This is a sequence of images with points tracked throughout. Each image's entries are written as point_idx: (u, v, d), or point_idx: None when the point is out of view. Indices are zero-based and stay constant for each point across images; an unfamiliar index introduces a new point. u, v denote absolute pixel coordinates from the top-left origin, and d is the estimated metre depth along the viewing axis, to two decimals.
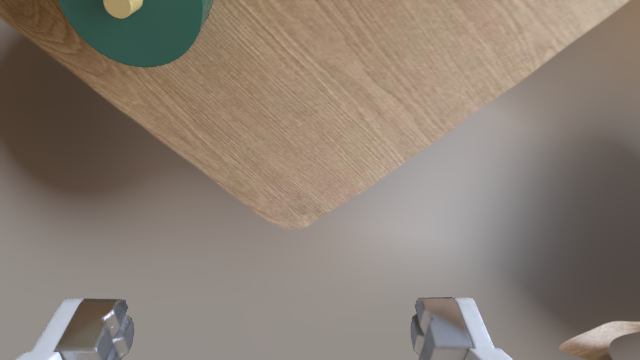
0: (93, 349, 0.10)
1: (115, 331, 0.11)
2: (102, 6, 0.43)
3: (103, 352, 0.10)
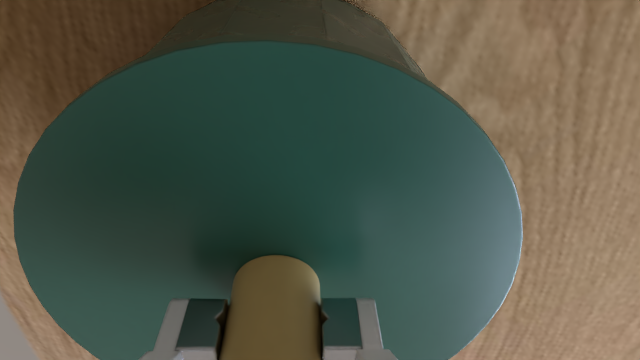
0: (213, 347, 0.10)
1: (222, 330, 0.11)
2: (177, 251, 0.12)
3: (219, 351, 0.10)
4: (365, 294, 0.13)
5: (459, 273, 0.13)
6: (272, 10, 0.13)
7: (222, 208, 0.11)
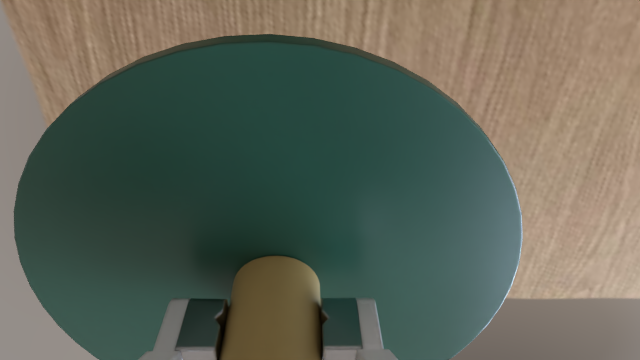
0: (213, 347, 0.10)
1: (222, 330, 0.11)
2: (177, 252, 0.12)
3: (218, 351, 0.10)
4: (365, 295, 0.13)
5: (459, 274, 0.13)
6: None
7: (222, 209, 0.11)
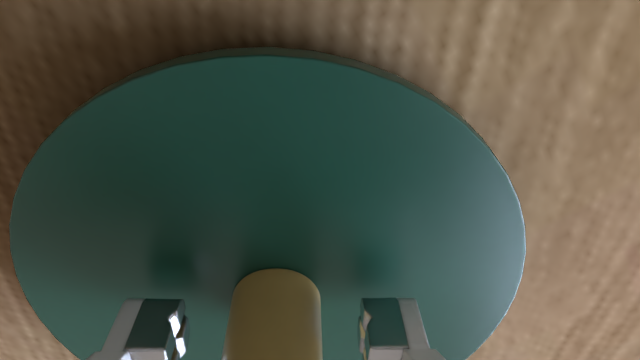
0: (162, 347, 0.10)
1: (176, 331, 0.11)
2: (176, 264, 0.12)
3: (169, 351, 0.10)
4: None
5: (461, 285, 0.13)
6: None
7: (221, 222, 0.11)
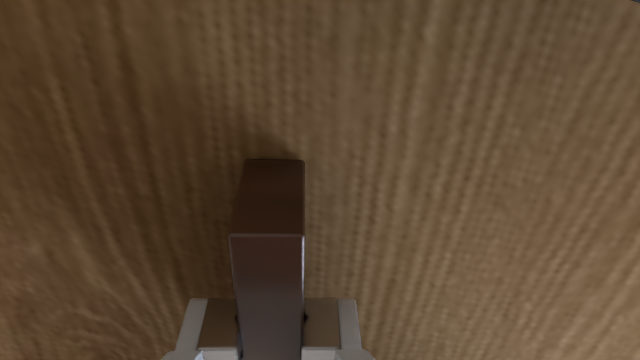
0: (234, 347, 0.10)
1: None
2: None
3: (239, 351, 0.10)
4: None
5: None
6: None
7: None
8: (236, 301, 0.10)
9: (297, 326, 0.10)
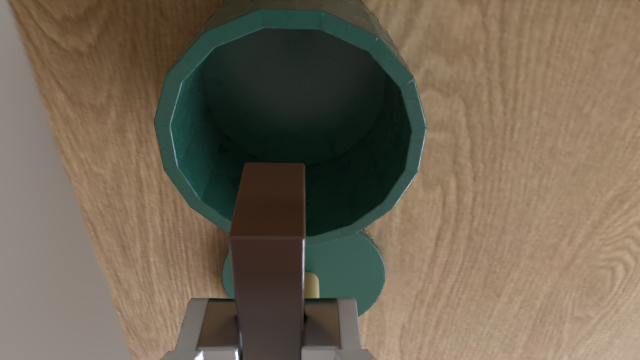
0: (234, 347, 0.10)
1: None
2: None
3: (239, 351, 0.10)
4: (334, 284, 0.38)
5: (365, 277, 0.38)
6: None
7: None
8: (236, 304, 0.10)
9: (297, 329, 0.10)
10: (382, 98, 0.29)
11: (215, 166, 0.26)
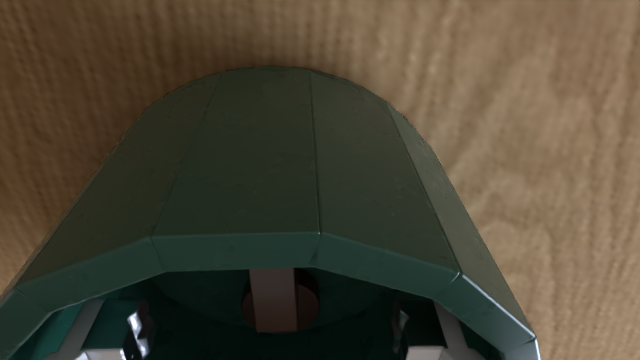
0: (119, 348, 0.10)
1: (138, 331, 0.11)
2: None
3: (128, 352, 0.10)
4: None
5: None
6: (249, 118, 0.10)
7: None
8: None
9: None
10: None
11: None
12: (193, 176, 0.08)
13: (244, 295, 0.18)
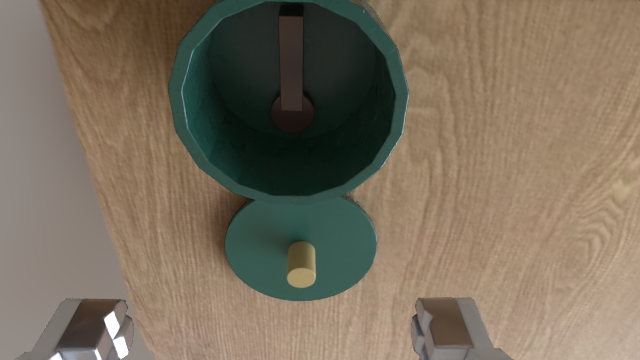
0: (93, 348, 0.10)
1: (115, 331, 0.11)
2: (272, 240, 0.40)
3: (103, 352, 0.10)
4: (329, 254, 0.41)
5: (358, 247, 0.40)
6: None
7: (287, 227, 0.39)
8: (279, 48, 0.27)
9: (301, 62, 0.28)
10: (372, 75, 0.32)
11: (220, 134, 0.29)
12: None
13: (272, 102, 0.32)
